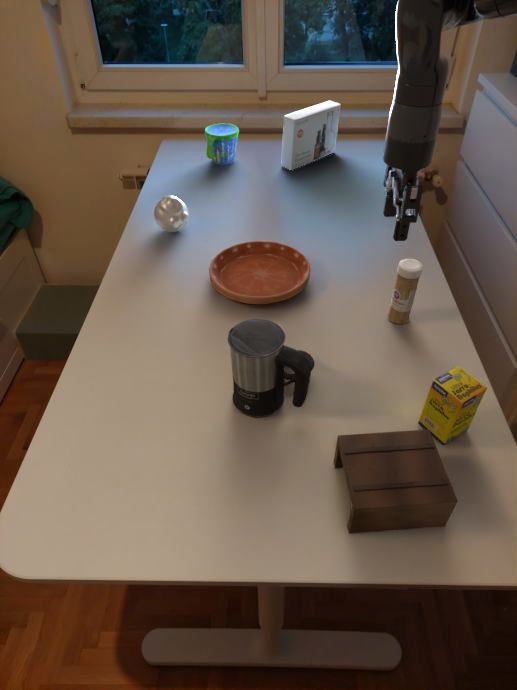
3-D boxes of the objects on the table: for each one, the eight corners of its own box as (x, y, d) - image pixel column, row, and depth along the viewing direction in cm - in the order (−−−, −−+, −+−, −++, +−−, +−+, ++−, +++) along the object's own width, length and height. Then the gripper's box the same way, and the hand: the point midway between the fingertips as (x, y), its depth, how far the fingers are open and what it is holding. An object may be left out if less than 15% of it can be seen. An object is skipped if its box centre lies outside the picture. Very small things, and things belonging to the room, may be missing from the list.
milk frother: (227, 415, 87) (222, 353, 77) (241, 352, 98) (239, 291, 88) (309, 423, 85) (315, 362, 75) (314, 359, 97) (320, 298, 87)
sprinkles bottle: (382, 317, 106) (394, 263, 96) (395, 308, 108) (408, 254, 99) (400, 328, 103) (414, 273, 94) (413, 318, 105) (428, 264, 96)
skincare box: (292, 172, 157) (294, 119, 147) (280, 166, 160) (281, 115, 150) (336, 153, 168) (341, 103, 157) (324, 148, 171) (328, 99, 160)
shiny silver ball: (154, 240, 129) (148, 204, 122) (158, 221, 136) (153, 186, 129) (189, 239, 129) (185, 203, 122) (192, 220, 136) (188, 185, 129)
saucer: (189, 280, 116) (188, 267, 113) (259, 242, 128) (259, 229, 125) (260, 325, 104) (260, 311, 101) (329, 279, 116) (331, 265, 113)
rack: (419, 456, 80) (429, 428, 75) (445, 526, 72) (458, 500, 67) (333, 461, 80) (337, 434, 75) (348, 534, 71) (354, 508, 66)
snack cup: (221, 173, 157) (219, 140, 150) (195, 165, 162) (192, 133, 155) (250, 156, 167) (249, 124, 160) (225, 149, 171) (223, 118, 164)
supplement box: (444, 447, 82) (462, 404, 74) (416, 423, 85) (431, 379, 78) (468, 431, 84) (488, 387, 76) (441, 408, 88) (457, 364, 80)
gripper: (450, 148, 71) (426, 248, 82) (424, 115, 82) (406, 208, 92) (397, 149, 71) (380, 249, 82) (378, 116, 82) (365, 208, 92)
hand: (394, 227), depth 87 cm, fingers open, 8 cm apart
